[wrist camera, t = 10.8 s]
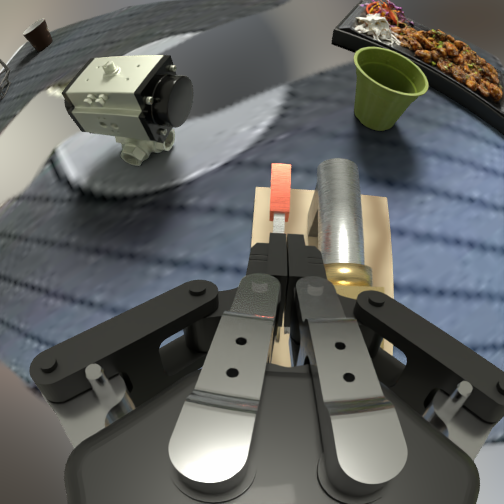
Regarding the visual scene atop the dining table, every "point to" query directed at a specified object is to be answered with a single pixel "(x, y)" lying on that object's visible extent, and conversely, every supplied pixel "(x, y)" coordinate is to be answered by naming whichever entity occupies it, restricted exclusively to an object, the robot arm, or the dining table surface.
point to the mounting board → (300, 201)
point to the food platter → (427, 56)
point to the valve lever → (280, 202)
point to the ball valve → (131, 102)
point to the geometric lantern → (4, 78)
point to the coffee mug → (38, 35)
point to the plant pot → (385, 86)
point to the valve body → (340, 228)
